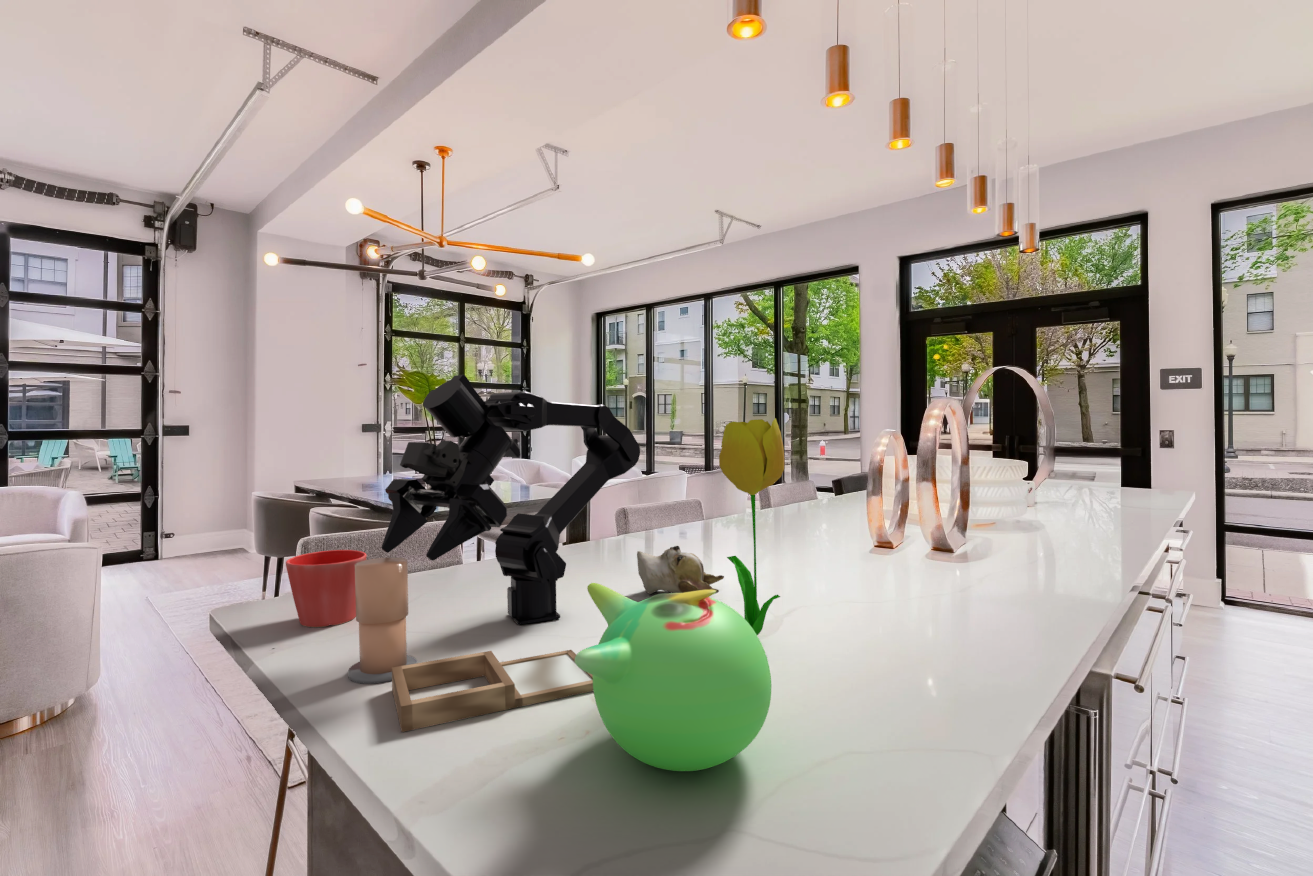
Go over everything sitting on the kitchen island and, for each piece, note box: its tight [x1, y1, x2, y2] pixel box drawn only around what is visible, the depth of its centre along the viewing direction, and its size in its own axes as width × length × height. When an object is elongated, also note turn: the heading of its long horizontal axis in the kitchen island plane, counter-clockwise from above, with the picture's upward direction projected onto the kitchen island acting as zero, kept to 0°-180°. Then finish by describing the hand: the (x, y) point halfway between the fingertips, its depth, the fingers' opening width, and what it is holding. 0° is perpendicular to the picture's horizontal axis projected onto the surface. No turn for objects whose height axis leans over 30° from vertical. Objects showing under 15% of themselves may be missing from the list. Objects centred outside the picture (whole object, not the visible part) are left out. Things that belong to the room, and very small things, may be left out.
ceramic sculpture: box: [636, 545, 725, 595], centre depth 109 cm, size 11×9×15 cm
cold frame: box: [391, 649, 594, 733], centre depth 71 cm, size 21×11×2 cm, turn 117°
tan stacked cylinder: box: [355, 556, 409, 674], centre depth 76 cm, size 6×6×12 cm
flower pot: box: [285, 549, 368, 628], centre depth 97 cm, size 11×11×10 cm
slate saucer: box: [347, 654, 418, 685], centre depth 76 cm, size 8×8×1 cm
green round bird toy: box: [575, 582, 772, 772], centre depth 57 cm, size 18×17×15 cm
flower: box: [718, 417, 786, 636], centre depth 85 cm, size 9×8×30 cm
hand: (406, 554), depth 79 cm, fingers open, 9 cm apart
